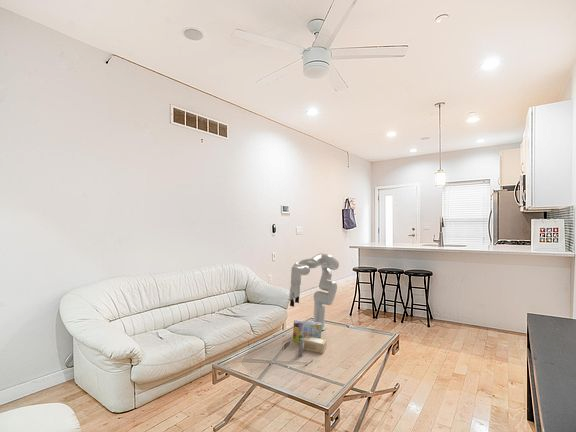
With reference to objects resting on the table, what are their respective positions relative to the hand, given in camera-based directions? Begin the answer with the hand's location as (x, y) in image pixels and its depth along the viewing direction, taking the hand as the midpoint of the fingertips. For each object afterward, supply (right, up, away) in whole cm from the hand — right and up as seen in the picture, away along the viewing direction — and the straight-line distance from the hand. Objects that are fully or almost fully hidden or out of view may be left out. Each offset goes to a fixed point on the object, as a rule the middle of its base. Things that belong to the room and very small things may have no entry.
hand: (294, 304), depth 241 cm
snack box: (+9, -29, +1) cm, 31 cm away
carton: (+14, -30, -10) cm, 34 cm away
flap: (+5, -29, -17) cm, 34 cm away
